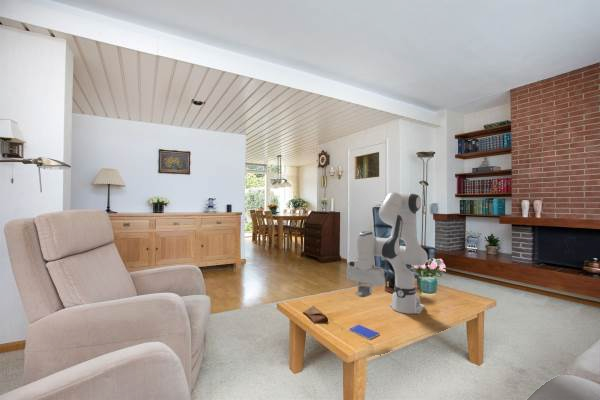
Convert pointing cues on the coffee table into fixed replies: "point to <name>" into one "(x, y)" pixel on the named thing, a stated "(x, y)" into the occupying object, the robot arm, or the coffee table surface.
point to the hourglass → (392, 279)
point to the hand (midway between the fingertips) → (365, 291)
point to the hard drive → (364, 331)
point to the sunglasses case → (315, 315)
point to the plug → (363, 291)
